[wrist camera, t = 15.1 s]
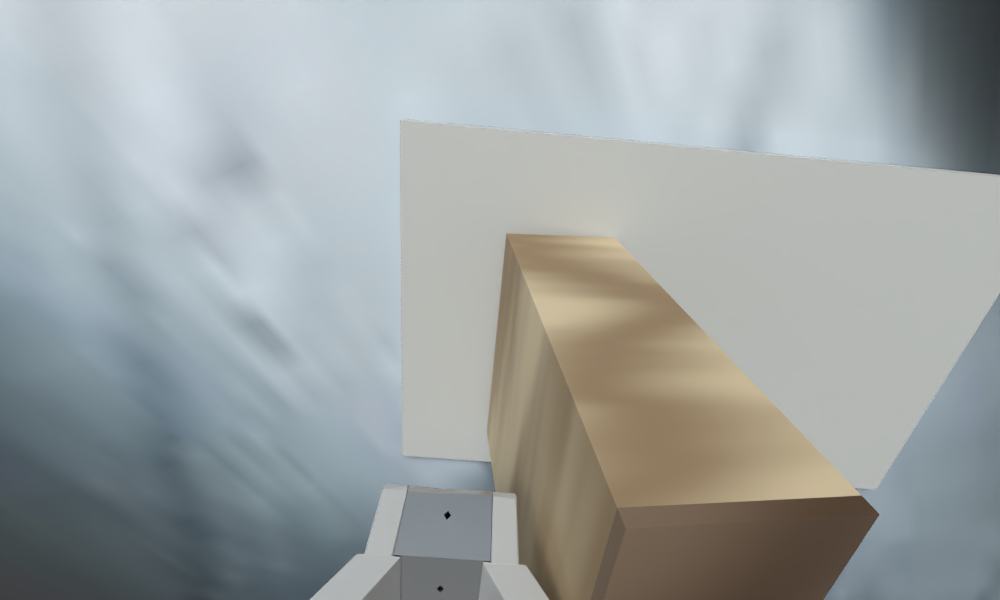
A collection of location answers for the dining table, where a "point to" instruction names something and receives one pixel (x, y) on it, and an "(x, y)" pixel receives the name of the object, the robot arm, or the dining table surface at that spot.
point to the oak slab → (649, 444)
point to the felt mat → (704, 272)
